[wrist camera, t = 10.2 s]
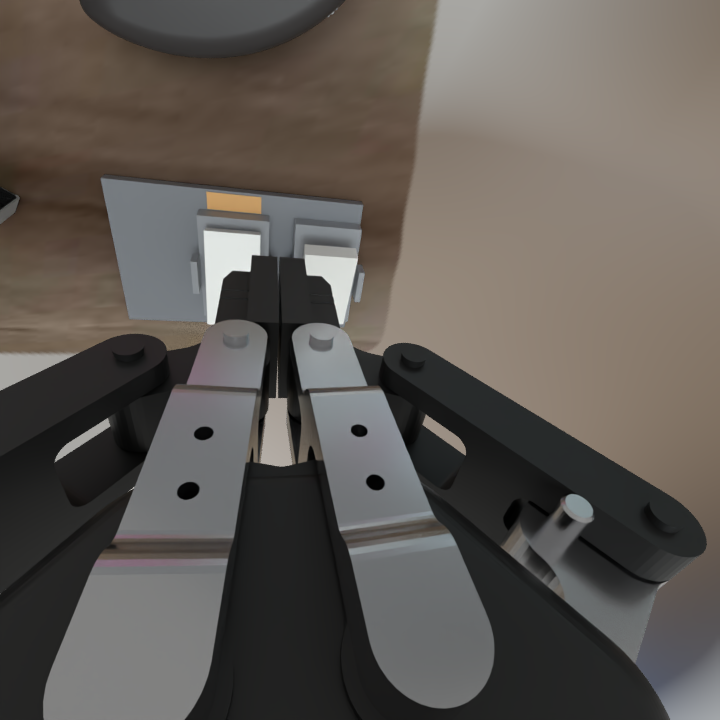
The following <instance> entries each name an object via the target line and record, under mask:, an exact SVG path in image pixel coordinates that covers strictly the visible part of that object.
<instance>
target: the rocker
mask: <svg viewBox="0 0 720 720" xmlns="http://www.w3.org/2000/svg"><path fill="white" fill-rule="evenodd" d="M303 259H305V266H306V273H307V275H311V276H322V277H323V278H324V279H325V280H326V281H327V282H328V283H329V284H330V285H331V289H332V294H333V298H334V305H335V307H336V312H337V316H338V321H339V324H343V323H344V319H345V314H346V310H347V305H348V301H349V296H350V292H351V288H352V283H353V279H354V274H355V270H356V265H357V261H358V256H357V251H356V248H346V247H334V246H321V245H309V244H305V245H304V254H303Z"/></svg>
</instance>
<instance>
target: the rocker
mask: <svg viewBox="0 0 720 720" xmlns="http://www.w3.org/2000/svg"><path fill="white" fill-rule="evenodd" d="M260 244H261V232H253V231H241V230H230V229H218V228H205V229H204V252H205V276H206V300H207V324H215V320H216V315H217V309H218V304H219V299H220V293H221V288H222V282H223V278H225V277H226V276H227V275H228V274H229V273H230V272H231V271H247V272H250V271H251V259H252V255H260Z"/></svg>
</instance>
